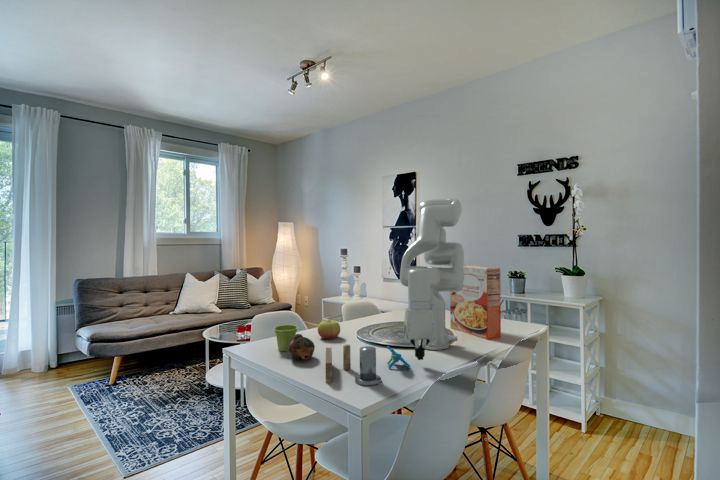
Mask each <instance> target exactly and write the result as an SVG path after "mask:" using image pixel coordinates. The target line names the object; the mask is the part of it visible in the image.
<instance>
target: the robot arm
mask: <svg viewBox="0 0 720 480" xmlns="http://www.w3.org/2000/svg"><path fill="white" fill-rule="evenodd" d="M462 209H463V208H462V203H461V201H460V200H459V199H457V198H447V199H428V200H427V199H426V200H424V201H421V202H420V204H419V206H418V212H419V214H418V215H419V216H418V223H417V224H418V225H417V233H416V240H415V241H414V242H413V243H412V244H411V245H409V246H408V248H407V249H406V251H405V252H404V253H403V255H402V258H401V263H400V271H399V281H400V283H401V285H402V286H404V287H407V297H408V298H407V300H408V301H407V303H408V304H407V305H408V308H407V307H406V308H405V313H404V318H403V319H404V320H403V321H404V322H403V335H404V338H403V341H404V343H408V344H412V346H414V356H415V357H416V359H417V360H418V361H420V360H421V361H424V358H425V353H426V352H425V351H426V350H430V351H440V350H446V349H449V348H450V342H458V336H455V335H451V334H450V335H448V334H446V301H445V299H444V298H443V296H442V295H441V294H440V292H444V293H445V292H448V293H450V292H459V291H461V290H462V288H463V280H464V265H465V252H464V251H465V250H464V246H463V245H462V244H461V243H460V242H454V241H451V242H447V231H446V229H445V228H448V227H450V228H451V227H455V226H457V224H458V222H459V220H460V218H461V216H462V211H463V210H462ZM444 227H445V228H444ZM422 254H423V257H424V262H425V263H426V265H430V266H424V265H423V266H421V265H420V266H417V265H411V264H412V261H414V259H416V258H417V257H418V256H419V255H422ZM435 266H436V267H435ZM437 266H438V267H437ZM440 266H449V267H440ZM450 266H452V268H450ZM419 345H420V346H419Z"/></svg>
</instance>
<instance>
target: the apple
mask: <svg viewBox="0 0 720 480" xmlns="http://www.w3.org/2000/svg"><path fill="white" fill-rule="evenodd" d="M340 333H341V326H340V323H339V321H336V320H332V319H327V320H322V321H321V322H320V323H319V324H318V326H317V334H318V335H319V336H320V338H321V339H324V340H333V339H334V340H335V339H336V338H338V336H339V335H340Z"/></svg>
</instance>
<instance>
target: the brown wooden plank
mask: <svg viewBox="0 0 720 480" xmlns="http://www.w3.org/2000/svg"><path fill="white" fill-rule="evenodd" d="M332 350H333V348H332V347H325V383H326V384H328V383H329V382H330V383H333V351H332ZM330 383H329V384H330Z"/></svg>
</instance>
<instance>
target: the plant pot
mask: <svg viewBox="0 0 720 480" xmlns="http://www.w3.org/2000/svg"><path fill="white" fill-rule="evenodd" d="M298 329H299V327H298V326H297V325H295V324H280V325H278V326H274V327H273V330H274V333H275V336H276V337H275V338H276V344H277V350H278V352H279V351H280V352H290V351H289V349H288V345H289V344H290V342H291V341H292V340H293V338H294V336H295V335H296V334H297V332H298V331H297V330H298Z"/></svg>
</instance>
